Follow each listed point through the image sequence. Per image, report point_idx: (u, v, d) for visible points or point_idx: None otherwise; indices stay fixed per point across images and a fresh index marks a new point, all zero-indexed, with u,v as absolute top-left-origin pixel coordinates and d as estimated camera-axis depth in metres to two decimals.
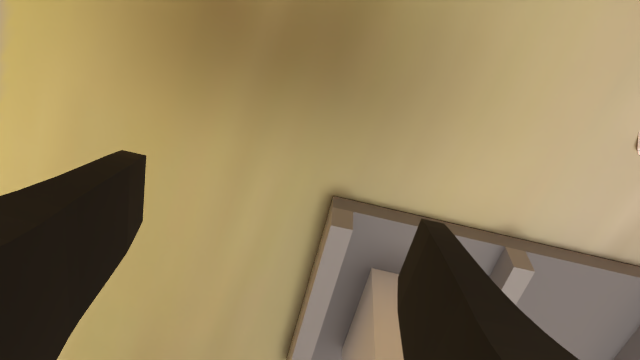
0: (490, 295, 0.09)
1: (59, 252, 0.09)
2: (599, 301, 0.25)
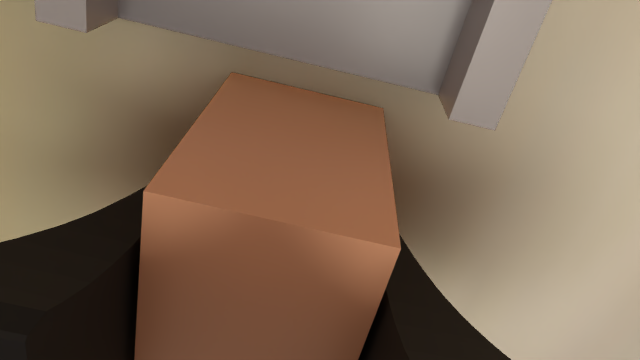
0: (412, 278, 0.09)
1: None
2: None
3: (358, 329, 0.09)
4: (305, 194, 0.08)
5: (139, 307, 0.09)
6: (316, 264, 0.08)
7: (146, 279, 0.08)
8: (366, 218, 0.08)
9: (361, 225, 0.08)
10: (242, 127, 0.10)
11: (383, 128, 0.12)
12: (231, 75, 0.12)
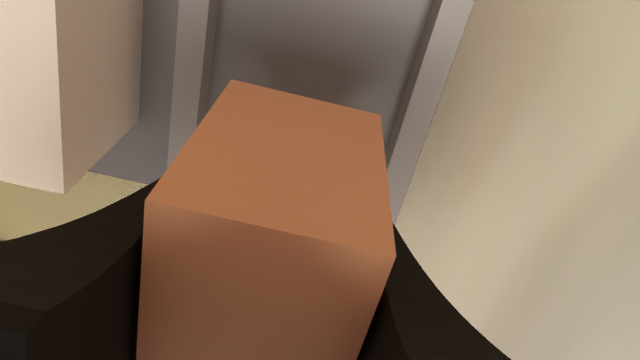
0: (412, 278, 0.09)
1: None
2: None
3: (355, 334, 0.09)
4: (303, 202, 0.09)
5: (140, 312, 0.09)
6: (314, 271, 0.08)
7: (147, 285, 0.08)
8: (362, 226, 0.08)
9: (357, 233, 0.08)
10: (241, 135, 0.10)
11: (380, 135, 0.12)
12: (231, 82, 0.13)
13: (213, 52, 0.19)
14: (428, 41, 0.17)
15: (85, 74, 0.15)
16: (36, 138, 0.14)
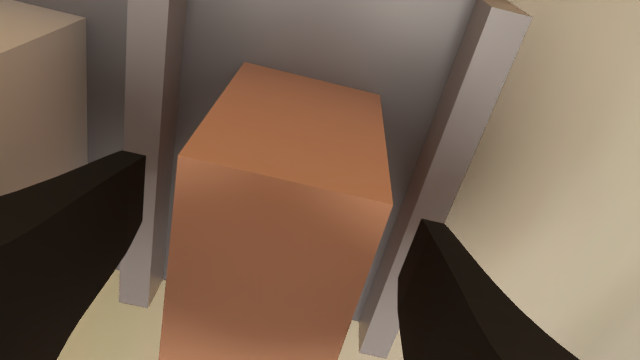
0: (490, 295, 0.09)
1: (59, 252, 0.09)
2: (358, 43, 0.14)
3: (357, 277, 0.10)
4: (313, 161, 0.10)
5: (169, 259, 0.10)
6: (322, 219, 0.09)
7: (177, 233, 0.10)
8: (364, 181, 0.10)
9: (360, 186, 0.09)
10: (256, 107, 0.11)
11: (380, 111, 0.13)
12: (244, 64, 0.14)
13: (176, 120, 0.15)
14: (447, 118, 0.13)
15: None
16: None
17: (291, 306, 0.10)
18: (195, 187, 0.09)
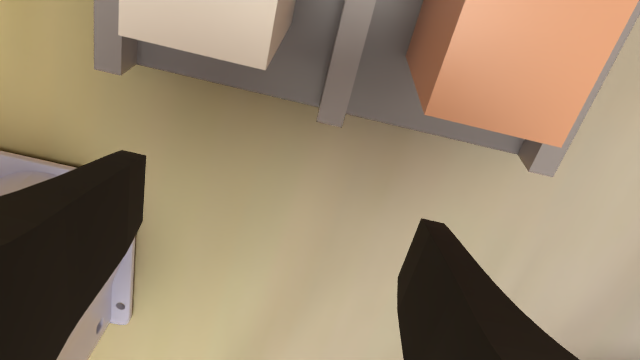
0: (490, 295, 0.09)
1: (59, 252, 0.09)
2: None
3: None
4: None
5: None
6: None
7: None
8: None
9: None
10: None
11: None
12: None
13: None
14: None
15: None
16: None
17: (566, 30, 0.12)
18: None
